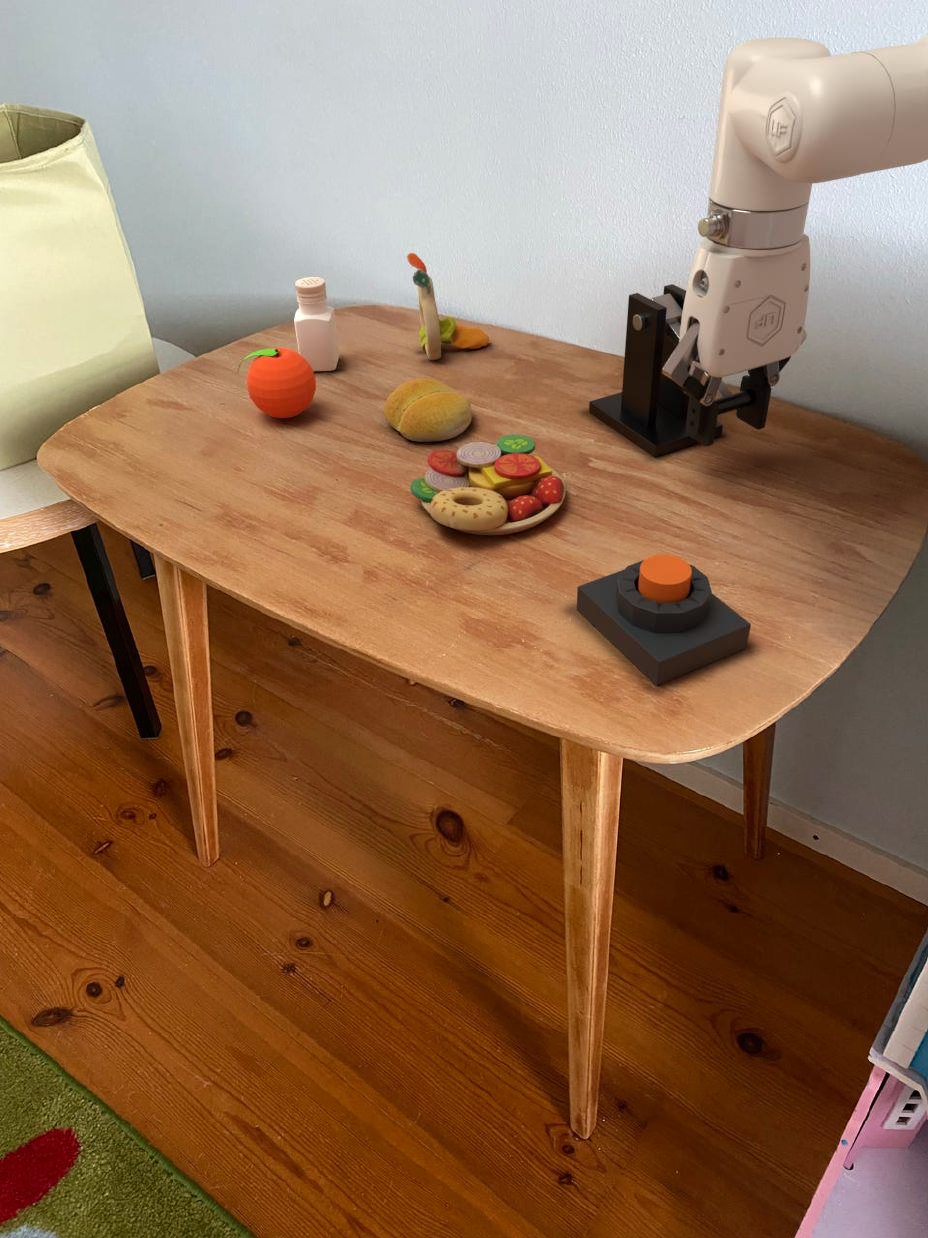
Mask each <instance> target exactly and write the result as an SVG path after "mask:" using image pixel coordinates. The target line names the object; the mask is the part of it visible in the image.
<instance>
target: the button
mask: <svg viewBox="0 0 928 1238" xmlns="http://www.w3.org/2000/svg"><path fill="white" fill-rule="evenodd" d="M643 560H644V561H643ZM643 560H642V561H643V562H642V564H641V566H640V573H639V584H638V589H639V592H640V593H641V595H642V596H643V597H645V598H646V599H649V600H653V601H656V602H659V603H677V602H679V601H682V600H684V599H685V598H686V597H687V596H688V594H689V590H690V582H691V575H692V569H691V567H690V565H691V564H690V565H689V563H688V562H687V561H686V560H684V559H683V558H680V557H678V556H675V555H670V554H657V555H652V556H649V557H647V558H645V559H643Z"/></svg>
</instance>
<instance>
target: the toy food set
mask: <svg viewBox="0 0 928 1238" xmlns="http://www.w3.org/2000/svg"><path fill="white" fill-rule="evenodd" d="M535 450H536V442H535V440H534V439H533V438H532V437H529V436H526V435H521V434H509V435H505V436H502V437H501V438H499V439H498V440H497V441H496V444H492V443H491V442H484V441H476V442H475V441H474V442H469V443H465V444H463V445H462V446H459V448H458V449H457V451H456V452H455V451H452V450H447V449H439V450H434V451H432V452H430V453H428V456H427V464H428V466H429V467H430V469H429V470H427V472H425V474H424V477H419V478H415V479H414V480H412V482H411V483H410V487H409V490H410V493H411V494H412V495H413V496H414V497H415V498H417V499H419V501H420V503H421V505H422V507H423V508H424V509H425V511H426V512H427V513H428V514H429V515H430V516H431V518H432V519H433V520H434V521H436V522H437V523H438V524H440V525H442V526H445V527H448V528H451V529H454V530H456V531H459V532H463V533H467V534H473V535H479V536H501V535H502V536H504V535H511V534H515V533H518V532H523V531H525V530H528V529H531V528H534V527H536V526H537V525H539V524H541V523H542V522H544V521H545V520H547V519H548V518H550V517H551V516H552V515H553V514H554V513H556V512H557V511H558V509H559V508H560V507H561V506H562V504H563V503H564V499H565V497H566V485H565V481H564V479H563V478H562V477H561V475H560V474H559V473H558V472H557V471H556V470H555V469H554V468H552V467H551V466H549V465H548V464H546V463H545V461H544V460H543V459H542V458H541V457H540V456H537V455H535V456H533V455H532V453H533V452H534V451H535Z"/></svg>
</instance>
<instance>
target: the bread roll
mask: <svg viewBox="0 0 928 1238" xmlns="http://www.w3.org/2000/svg"><path fill="white" fill-rule="evenodd" d="M385 400H386V401H385V402H384V405H383V414H384V417H385V419H386V421H387V422H388V424H389V425H390V426H391V427H392V428H393V429H395V430H396V431H398V432H399V433H400V434H401V435H402V436H403V437H404V438H406V439H407V440H410V441H412V442H419V443H422V442H423V443H427V442H429V443H430V442H431V443H432V442H440V441H441V442H442V441H446V440H450V439H453V438H456V437H457V436H460V434H462V433H463V432H464V431H466V430H467V428H468V427H469V426H470V424H471V422H472V419H473V418H472V417H473V416H472V413H473V412H472V406H471V402H470V401H469V400H468V398H467V397H466V396H464V395H463V394H461V393H458V392H455V391H454V390H453V388H451V387H450V386H448V385H447V384H446V383H444V382H442V381H440V380H437V379H434V378H425V377H421V378H420V377H419V378H416V379H411V380H408V381H407V382H404V383H402V384H401V385H399V386H398V387H397V388H396V389H394V391H392V392H391V393H390V394H389V396H388V397H387V399H385Z"/></svg>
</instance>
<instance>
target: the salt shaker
mask: <svg viewBox="0 0 928 1238" xmlns="http://www.w3.org/2000/svg"><path fill="white" fill-rule="evenodd" d="M294 285H295V292H296V301H297V302H298V307H299V308H298V309H297V310H296V311H295V315H294V318H293V322H294V329H295V335H296V342H297V349H298V353H299V354H300V355H301V356H302V357H303V358H305V359H306V360H307V361H308V362H309V364H310V366H311V367H312V369H313V372H332V371H335V370H336V369H337V365H338V362H339V359H340V346H339V340H338V339H339V337H338V331H337V322H336V314H335V309H334V307H332V306H329V305H328V302H327V299H328V296H327V295H328V294H327V287H326V281H325V279H324V278H321V277H320V276H306V277H302V278H300V279H297V280H296V281H295V282H294Z"/></svg>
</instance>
